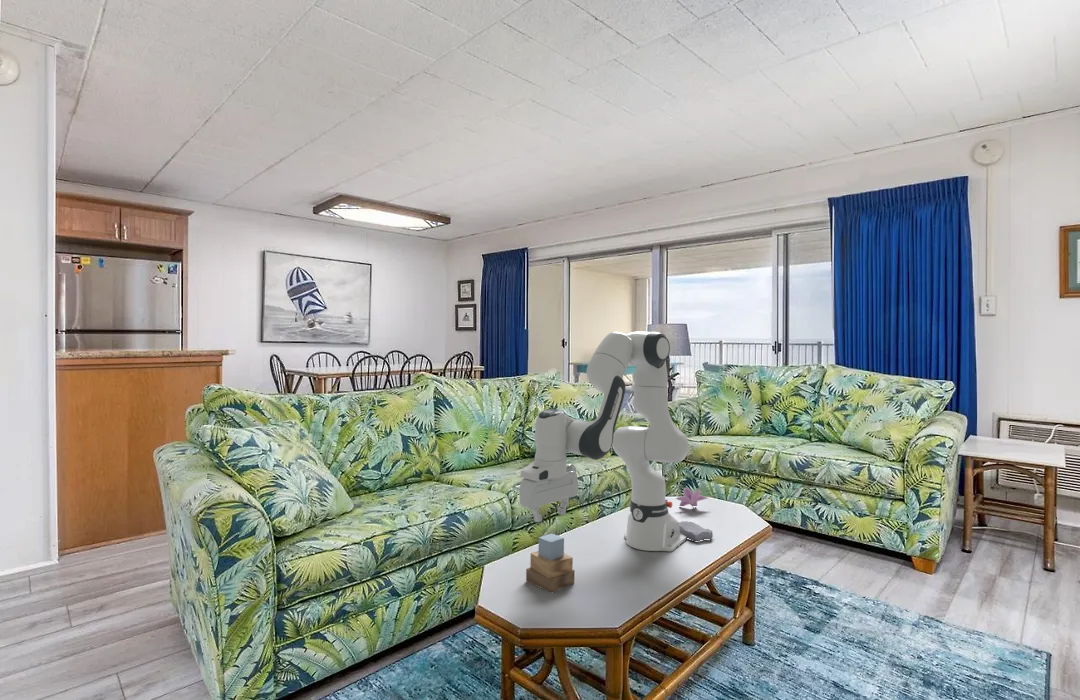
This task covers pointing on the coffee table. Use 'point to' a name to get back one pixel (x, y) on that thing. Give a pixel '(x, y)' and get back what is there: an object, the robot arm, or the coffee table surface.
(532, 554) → the teak block
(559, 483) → the robot arm
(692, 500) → the lily
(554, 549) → the slate cube
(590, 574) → the coffee table surface
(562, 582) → the walnut block
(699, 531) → the stone block
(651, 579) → the coffee table surface
